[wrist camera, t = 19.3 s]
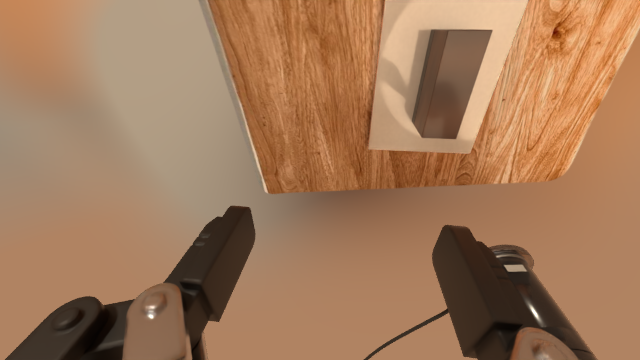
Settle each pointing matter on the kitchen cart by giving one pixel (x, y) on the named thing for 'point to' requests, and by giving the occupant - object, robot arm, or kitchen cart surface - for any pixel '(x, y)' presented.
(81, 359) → the robot arm
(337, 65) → the kitchen cart surface
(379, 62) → the tile
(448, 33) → the dark brown block
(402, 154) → the kitchen cart surface
